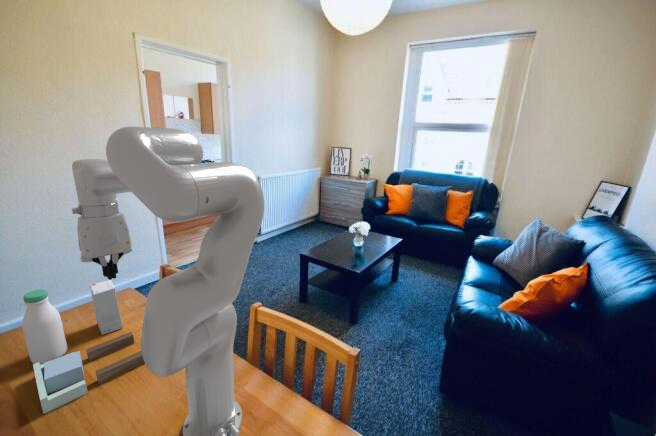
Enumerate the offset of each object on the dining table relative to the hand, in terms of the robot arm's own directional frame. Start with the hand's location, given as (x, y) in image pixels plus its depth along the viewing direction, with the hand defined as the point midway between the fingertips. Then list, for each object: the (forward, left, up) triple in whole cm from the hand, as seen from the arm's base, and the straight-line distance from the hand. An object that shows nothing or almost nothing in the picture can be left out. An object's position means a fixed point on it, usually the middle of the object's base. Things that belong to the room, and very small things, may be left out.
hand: (111, 277), depth 77 cm
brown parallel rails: (0, +2, -26) cm, 26 cm away
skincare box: (+19, -1, -26) cm, 32 cm away
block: (+2, +12, -26) cm, 29 cm away
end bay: (0, +13, -26) cm, 29 cm away
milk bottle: (+15, +14, -26) cm, 33 cm away
